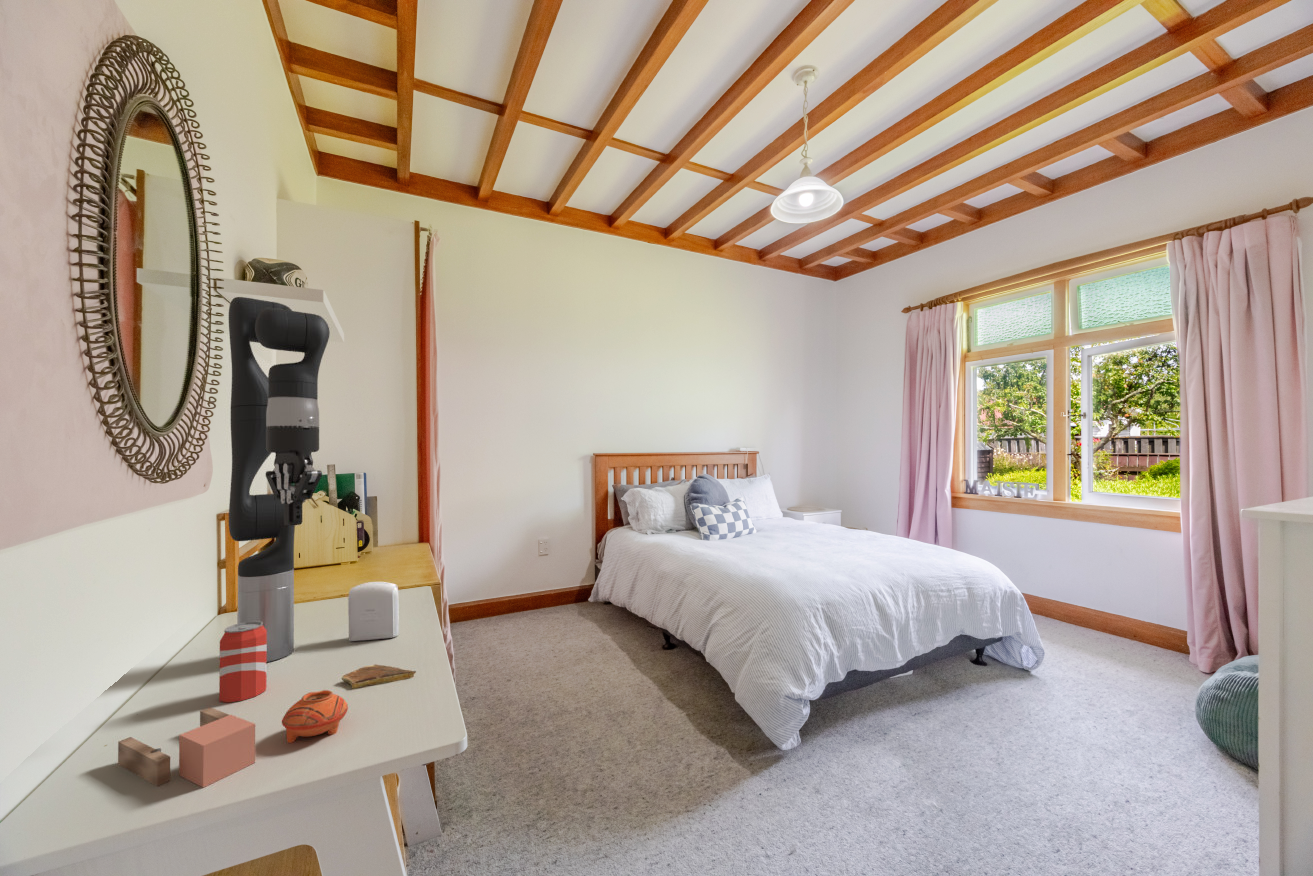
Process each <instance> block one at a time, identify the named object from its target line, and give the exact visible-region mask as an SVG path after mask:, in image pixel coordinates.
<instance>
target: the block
mask: <svg viewBox="0 0 1313 876" xmlns="http://www.w3.org/2000/svg"><path fill="white" fill-rule="evenodd" d="M178 737H179V738H178V741H179V745H178V746H179V747H178V748H179V749H178V750H179V752H178V775H179V776H180V777H182V778H184V779H186V780H188V781H189V782H192V783H194V784H195V785H198V786H199V787H201V788H206V787H208V786H210V785H212V784H213V783H214V784H215V783H216V782H218V781H221V780H222V779H224V778H227V777H228V776H230V775H232V774H235V773H237V772H238V771H241V770H243V769H245V768H247V767H249V766H251V765H253V764H255V763H256V723H254V722H251V721H249V720H246V719H243V718H241V717H239V716H236V715H233V714H229V715H228V716H226V717H223V718H221V719H218V720H216V721H213V722H211V723H208V724H206V725H203V726H201V727H200V726H198V727H195V728H193V729H191V730H189V731H186V732H183V733H180V734H179V736H178Z"/></svg>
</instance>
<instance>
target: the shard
mask: <svg viewBox="0 0 1313 876" xmlns="http://www.w3.org/2000/svg"><path fill="white" fill-rule="evenodd" d="M416 673H417V671H416V670H415V671H414V670H409V669H402V668H400V667H396V666H395V667H393V666H388V665H385V664H384V665H382V664H373V665H367V666H363V667H360V668H358V669H356V670H353V671H351V672H349V673H345V674H344V675H342V677H341V681H343V682H345V683H349V684H350V686H351V689H352V690H355V689H359V688H363V687H366V686H367V687H368V686H372V685H379V684H386V683H390V682H391V683H392V682H398V681H403V680H406V679H410V678H414V677H415V674H416Z"/></svg>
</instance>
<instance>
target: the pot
mask: <svg viewBox="0 0 1313 876" xmlns="http://www.w3.org/2000/svg"><path fill="white" fill-rule="evenodd" d="M348 710H349V706H348V703H347V701H346V700H345V699H344V698H343V697H342V696H341V695H338V694H336V693H335V694H334V692H333V691H331V690H328V689H324V690H320V691H311V692H310V691H309V692H307V693H306V694H304V695H303V696H302V697H301V699H299V700H297V701H296V702H295V703H293V704H292V705H291V706H290V708H289V709H287V711H286V713H285V714H284V716H283V717H282V719H281V724H282V726H283V727H284V728H285V732H286V741H287V743H288V744H293V743H294V742H295V741H296V739H297V738H298V737H299V736H300V737H304V738H305V737H315V736H318V735H322V734H324V733H328V735H329V736H332V735H336V734H337V732H338V729H339V726H340V725H339V724H340V722H341V721H342V720H343V718H344V717H345V716H346V714H347V713H348Z"/></svg>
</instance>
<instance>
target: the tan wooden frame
mask: <svg viewBox="0 0 1313 876" xmlns="http://www.w3.org/2000/svg"><path fill="white" fill-rule="evenodd" d="M228 715H230V714H229V713H226V712H223V711H220V710H218V709H215V708H212V707H207V708H205V709H201V710H200V711H199V727H201V726H203V725H206V724H208V723H211V722H213V721H216V720H218V719H221V718H223V717H226V716H228ZM117 743H118V744H117V746H118V748H117V766H120V767H122V768H124V769H126V770H128V771H129V772H130V773H132V774H134V775H136V776H138V777H140V778H141V779H143V780H145V781H147V782H148V783H150V784H153V785H154V786H156V787H157V788H158V787H159V786H160V787H161V786H162V785H165V784H166V783H169V782H171V756H170V755H168V754H166V753H164V752H162V748H159V747H158V748H154V747H152V746H150V745H147V744H145V743H144V742H142V741H140V740H138V739H135V738H134V737H131V736H130V737H127V738H124V739H122V740H119V741H117Z"/></svg>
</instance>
